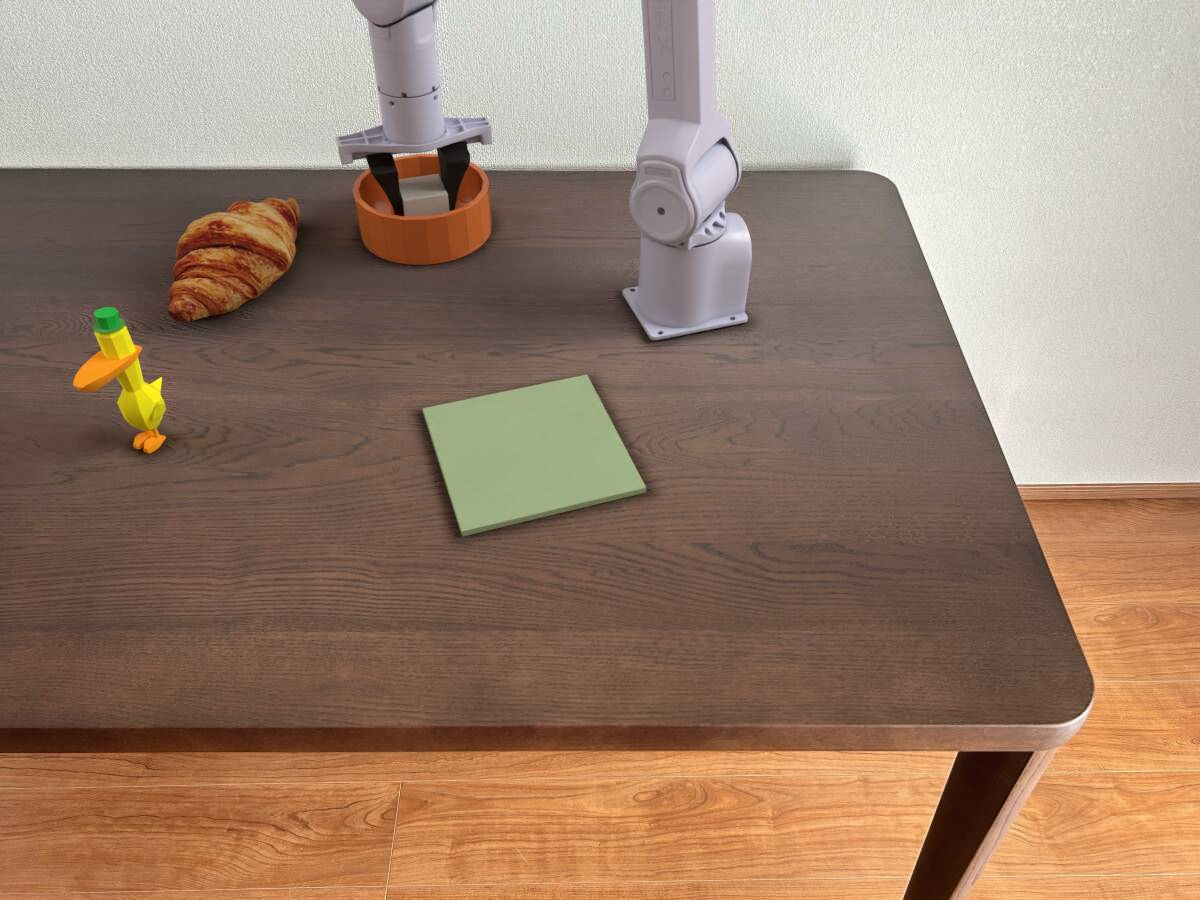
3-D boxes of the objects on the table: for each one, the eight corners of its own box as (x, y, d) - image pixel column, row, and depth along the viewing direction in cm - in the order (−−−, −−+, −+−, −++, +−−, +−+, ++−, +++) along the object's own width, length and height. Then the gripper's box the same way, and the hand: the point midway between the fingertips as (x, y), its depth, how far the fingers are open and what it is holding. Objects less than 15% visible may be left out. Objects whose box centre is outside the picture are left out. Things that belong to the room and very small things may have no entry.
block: (442, 212, 101) (438, 173, 98) (452, 233, 98) (447, 194, 95) (400, 218, 100) (394, 179, 97) (408, 240, 97) (403, 200, 94)
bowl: (474, 189, 105) (470, 146, 102) (505, 252, 96) (503, 206, 93) (352, 208, 102) (344, 164, 99) (372, 274, 93) (364, 228, 90)
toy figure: (135, 479, 73) (78, 352, 64) (98, 465, 74) (37, 338, 65) (195, 424, 77) (149, 298, 69) (160, 412, 78) (110, 287, 70)
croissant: (278, 244, 103) (230, 178, 99) (348, 215, 98) (301, 145, 94) (166, 361, 88) (104, 289, 83) (244, 333, 83) (182, 255, 79)
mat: (586, 379, 82) (587, 374, 81) (646, 492, 72) (646, 487, 72) (423, 413, 78) (422, 407, 78) (462, 537, 69) (461, 531, 68)
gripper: (475, 59, 93) (485, 188, 103) (322, 77, 90) (347, 209, 99) (494, 88, 88) (502, 220, 98) (333, 109, 85) (357, 244, 94)
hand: (425, 217), depth 98 cm, fingers closed on block, 4 cm apart
